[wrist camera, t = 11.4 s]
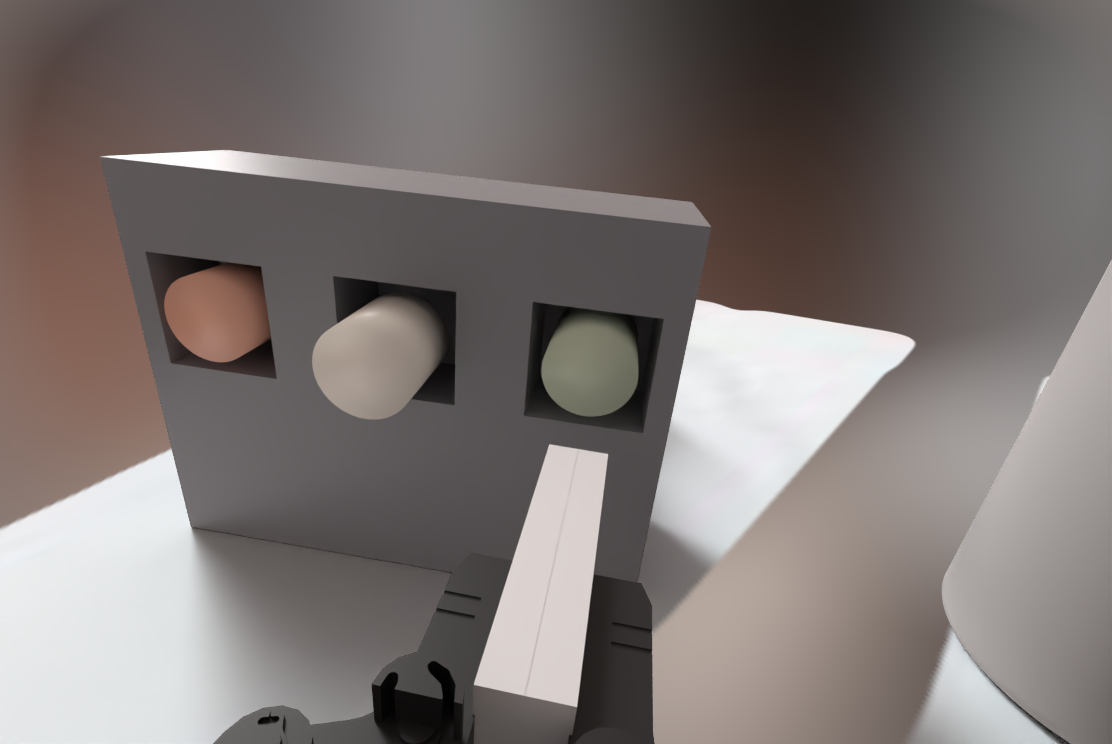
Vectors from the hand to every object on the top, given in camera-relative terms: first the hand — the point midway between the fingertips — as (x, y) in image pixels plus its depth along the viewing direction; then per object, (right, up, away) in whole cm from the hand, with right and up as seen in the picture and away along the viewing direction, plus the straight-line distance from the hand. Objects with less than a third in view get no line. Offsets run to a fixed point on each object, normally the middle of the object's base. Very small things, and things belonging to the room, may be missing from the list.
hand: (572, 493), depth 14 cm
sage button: (+1, +2, +10) cm, 10 cm away
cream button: (-7, +2, +8) cm, 11 cm away
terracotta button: (-15, +4, +11) cm, 19 cm away
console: (-8, -5, +16) cm, 19 cm away
